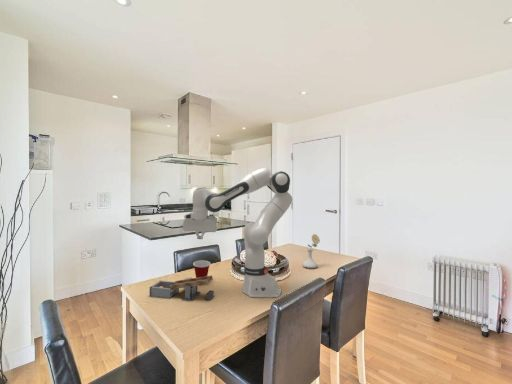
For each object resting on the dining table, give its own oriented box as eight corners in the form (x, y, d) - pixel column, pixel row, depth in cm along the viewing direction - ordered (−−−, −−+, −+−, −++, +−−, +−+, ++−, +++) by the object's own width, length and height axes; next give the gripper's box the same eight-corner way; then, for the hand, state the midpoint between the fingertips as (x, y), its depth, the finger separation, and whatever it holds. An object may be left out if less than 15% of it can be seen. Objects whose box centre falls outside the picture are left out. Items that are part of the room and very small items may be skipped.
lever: (217, 275, 147) (216, 270, 147) (207, 284, 133) (206, 279, 133) (182, 280, 151) (181, 276, 151) (170, 289, 137) (169, 285, 137)
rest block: (213, 296, 139) (213, 290, 139) (210, 300, 134) (210, 294, 134) (209, 296, 139) (209, 290, 139) (206, 300, 134) (206, 294, 134)
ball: (161, 291, 144) (166, 289, 143) (158, 294, 141) (162, 291, 140) (158, 286, 144) (163, 284, 143) (155, 289, 141) (160, 286, 140)
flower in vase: (306, 270, 185) (306, 235, 184) (299, 265, 196) (300, 232, 195) (322, 268, 188) (323, 235, 187) (315, 264, 199) (315, 232, 199)
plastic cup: (197, 286, 152) (197, 266, 152) (190, 281, 161) (190, 262, 161) (213, 282, 159) (213, 263, 158) (205, 277, 167) (205, 259, 167)
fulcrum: (200, 292, 143) (200, 279, 143) (192, 301, 133) (192, 287, 132) (190, 291, 145) (190, 278, 144) (181, 300, 134) (181, 286, 134)
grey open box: (178, 290, 145) (179, 282, 145) (169, 298, 136) (169, 289, 135) (159, 289, 148) (159, 280, 148) (149, 296, 138) (149, 287, 138)
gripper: (219, 215, 150) (218, 238, 150) (186, 214, 153) (186, 237, 154) (215, 216, 143) (215, 241, 144) (181, 215, 147) (181, 239, 148)
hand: (200, 239), depth 149 cm, fingers closed
